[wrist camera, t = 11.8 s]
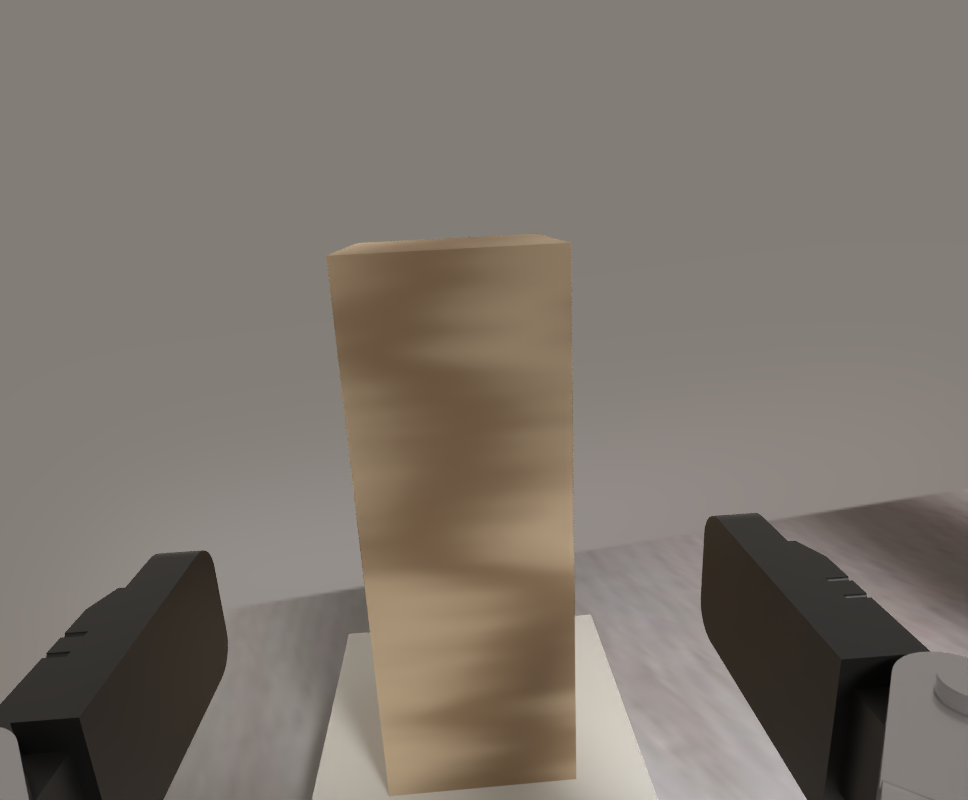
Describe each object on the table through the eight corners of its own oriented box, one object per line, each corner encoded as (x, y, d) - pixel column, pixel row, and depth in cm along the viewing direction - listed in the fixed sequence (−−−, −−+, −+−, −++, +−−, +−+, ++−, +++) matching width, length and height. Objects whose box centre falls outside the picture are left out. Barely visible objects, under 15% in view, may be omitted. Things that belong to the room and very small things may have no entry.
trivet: (590, 648, 25) (590, 614, 24) (670, 886, 16) (672, 839, 16) (353, 667, 24) (348, 633, 24) (302, 921, 16) (294, 875, 15)
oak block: (547, 655, 22) (536, 233, 18) (576, 779, 17) (570, 242, 13) (400, 667, 22) (357, 242, 18) (389, 796, 17) (325, 255, 13)
